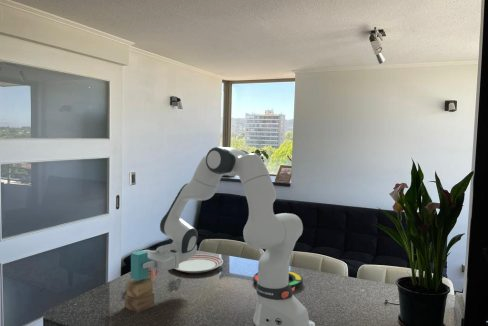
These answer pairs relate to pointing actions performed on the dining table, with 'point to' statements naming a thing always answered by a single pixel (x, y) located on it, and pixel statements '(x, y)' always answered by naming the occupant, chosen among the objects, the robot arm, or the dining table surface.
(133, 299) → the walnut base block
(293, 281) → the electronic game
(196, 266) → the dinner plate
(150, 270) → the stack of blocks
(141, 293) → the oak top block
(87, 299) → the dining table surface
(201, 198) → the robot arm
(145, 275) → the teal pillar
